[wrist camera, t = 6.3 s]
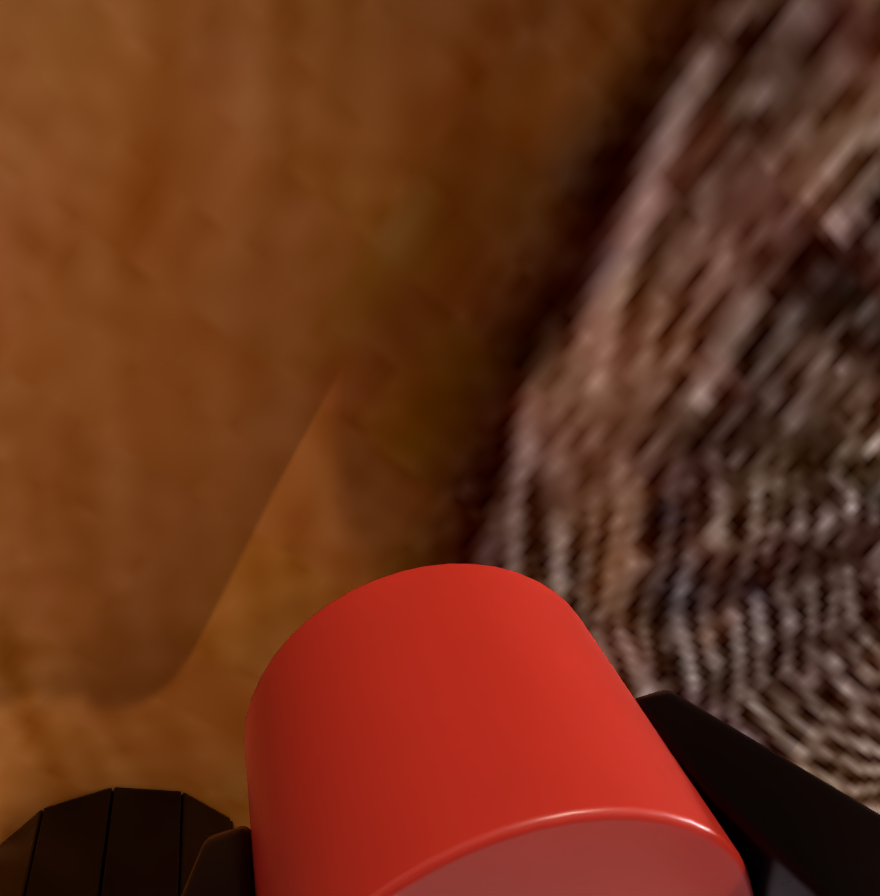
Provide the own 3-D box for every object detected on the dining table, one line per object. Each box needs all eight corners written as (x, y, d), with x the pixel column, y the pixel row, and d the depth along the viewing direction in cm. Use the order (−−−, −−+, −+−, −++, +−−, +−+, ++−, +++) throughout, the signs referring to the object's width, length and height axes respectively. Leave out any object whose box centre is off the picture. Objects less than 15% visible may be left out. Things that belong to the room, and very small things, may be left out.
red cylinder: (582, 517, 9) (769, 743, 6) (600, 779, 10) (749, 1044, 8) (197, 624, 8) (198, 939, 5) (291, 883, 10) (330, 1216, 7)
